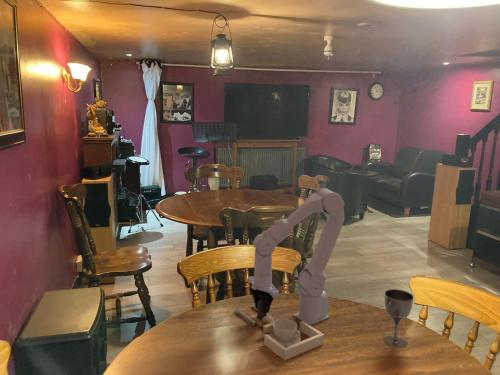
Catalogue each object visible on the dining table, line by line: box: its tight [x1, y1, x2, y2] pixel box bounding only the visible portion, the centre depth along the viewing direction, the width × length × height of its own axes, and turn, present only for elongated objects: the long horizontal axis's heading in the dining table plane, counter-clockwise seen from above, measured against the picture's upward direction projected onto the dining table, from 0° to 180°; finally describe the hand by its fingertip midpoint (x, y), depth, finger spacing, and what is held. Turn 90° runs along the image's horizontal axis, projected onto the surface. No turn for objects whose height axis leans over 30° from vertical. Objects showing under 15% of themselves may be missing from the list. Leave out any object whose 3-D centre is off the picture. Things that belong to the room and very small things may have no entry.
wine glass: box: [382, 288, 414, 348], centre depth 121 cm, size 8×8×15 cm
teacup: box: [268, 318, 302, 347], centre depth 122 cm, size 10×10×5 cm
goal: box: [263, 320, 325, 361], centre depth 119 cm, size 15×10×3 cm, turn 125°
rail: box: [234, 303, 274, 326], centre depth 136 cm, size 8×11×1 cm
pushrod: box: [250, 299, 292, 334], centre depth 130 cm, size 10×12×7 cm
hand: (262, 310), depth 132 cm, fingers open, 3 cm apart
